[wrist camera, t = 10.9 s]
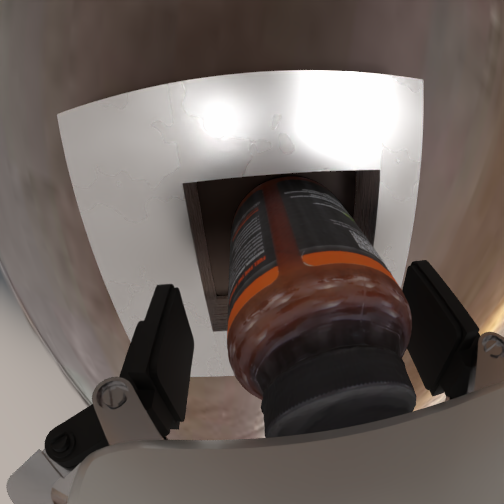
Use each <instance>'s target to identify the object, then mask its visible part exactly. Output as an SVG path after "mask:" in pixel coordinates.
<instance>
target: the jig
mask: <svg viewBox="0 0 504 504" xmlns="http://www.w3.org/2000/svg"><path fill="white" fill-rule="evenodd" d="M57 118H58V123H59V129H60V134H61V139H62V144H63V149H64V153H65V158H66V162H67V166H68V170H69V174H70V178H71V182H72V186H73V190H74V193H75V197H76V200H77V204H78V207H79V211H80V214H81V217H82V220H83V224H84V227H85V230H86V233H87V236H88V239H89V242H90V245H91V248H92V251H93V253H94V256H95V259H96V262H97V264H98V267H99V270H100V272H101V275H102V277H103V280H104V282H105V285H106V287H107V290H108V292H109V295H110V297H111V300H112V302H113V304H114V307H115V309H116V311H117V313H118V316H119V318H120V320H121V322H122V325H123V327H124V329H125V331H126V333H127V335H128V337H129V339H130V342H131V340H132V337H133V335H134V332H135V329H136V326H137V324H138V322H139V321H144V319H145V317H146V314H147V311H148V308H149V305H150V302H151V299H152V297H153V294H154V291H155V288H156V286H157V285H161V284H173V285H174V288H176V287H178V288H179V290H180V294H181V297H182V301H183V304H184V308H185V311H186V315H187V318H188V322H189V325H190V328H191V332H192V335H193V338H194V353H193V360H192V367H191V374H190V377H209V376H234V373H233V370H232V368H231V365H230V362H229V358H228V349H227V330H228V327H227V318H228V295H227V296H216V291H215V286H214V281H213V275H212V270H211V265H210V259H209V254H208V248H207V242H206V237H205V231H204V225H203V219H202V213H201V207H200V201H199V195H198V189H197V182H199V181H207V180H216V179H226V178H236V177H246V176H258V175H270V174H284V173H300V172H320V171H346V170H356V187H355V207H354V221H355V223H356V224H357V225H358V227H359V228H360V229H361V231H362V232H363V234H364V235H365V236H366V238H367V239H368V241H369V242H370V243H371V245H372V246H373V247H374V249H375V250H376V252H377V253H378V255H379V256H380V257H381V259H382V260H383V262H384V263H385V265H386V266H387V268H388V269H389V271H390V272H391V274H392V276H393V277H394V279H395V280H396V282H397V283H398V285H399V287H400V288H401V285H402V280H403V276H404V271H405V267H406V262H407V257H408V252H409V247H410V241H411V235H412V229H413V223H414V217H415V210H416V203H417V195H418V186H419V177H420V166H421V154H422V137H423V80H422V79H416V78H409V77H402V76H395V75H386V74H376V73H365V72H350V71H326V70H291V71H266V72H251V73H239V74H229V75H220V76H212V77H205V78H198V79H191V80H185V81H179V82H174V83H168V84H163V85H158V86H153V87H149V88H144V89H140V90H136V91H132V92H128V93H124V94H120V95H116V96H112V97H109V98H105V99H102V100H98V101H95V102H92V103H88V104H85V105H82V106H79V107H76V108H73V109H70V110H67V111H65V112H62V113H59V114H57Z"/></svg>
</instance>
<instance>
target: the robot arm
mask: <svg viewBox="0 0 504 504" xmlns="http://www.w3.org/2000/svg"><path fill="white" fill-rule="evenodd" d="M402 292H403V294H404V296H405V298H406V299H407V302H408V304H409V307H410V311H411V316H412V331H411V337H410V340H409V344H408V347H407V349H408V351H409V353H410V355H411V358H412V360H413V362H414V364H415V366H416V368H417V370H418V373H419V375H420V377H421V379H422V381H423V384H424V386H425V388H426V389H427V390H430V392H431V395H432V396H435V395H438V394H441V393H444V392H445V395H446V400H445V402H442V403H439V404H436V405H433V406H430V407H427V408H424V409H420V410H417V411H414V412H410V413H407V414H403V415H399V416H395V417H391V418H387V419H383V420H379V421H375V422H371V423H366V424H361V425H356V426H351V427H346V428H341V429H335V430H329V431H322V432H316V433H308V434H301V435H292V436H283V437H272V438H258V439H239V440H168V438H167V437H166V436H167V435H168V434H169V433H170V429H179V424H180V422H183V421H184V420H185V413H186V405H187V397H188V389H189V381H190V374H191V367H192V360H193V353H194V338H193V335H192V332H191V328H190V325H189V322H188V318H187V315H186V311H185V308H184V304H183V301H182V297H181V294H180V290H179V288H178V287H176V288H174V285H173V284H161V285H157V286H156V288H155V291H154V294H153V297H152V299H151V302H150V305H149V308H148V311H147V314H146V317H145V319H144V321H139V322H138V324H137V326H136V329H135V332H134V335H133V337H132V340H131V343H130V346H129V349H128V352H127V355H126V358H125V361H124V364H123V367H122V371H121V374H120V377H111V378H108V379H105V380H104V381H102V382H100V383H99V384H98V385H97V387H96V388H95V390H94V392H93V395H92V402H93V404H92V405H90V406H89V407H87V408H86V409H84V410H83V411H81V412H79V413H78V414H76V415H75V416H73V417H71V418H70V419H68V420H67V421H65V422H64V423H62V424H60V425H58V426H57V427H55V428H54V429H53V430H51V431H50V432H49V434H48V435H47V437H46V440H45V449H44V450H43V451H41V450H40V449H39V450H38V451H37V452H36V453H35V454H33V455H32V456H31V457H30V458H29V459H28V460H27V461H26V462H25V463H24V464H23V465H22V466H21V467H20V468H19V469H17V471H15V472H14V473H13V475H11V476H10V478H9V479H8V482H7V492H8V495H9V497H10V499H11V500H12V502H13V503H14V504H504V337H502V336H501V335H499V334H497V333H494V332H486V333H484V334H482V335H481V336H480V335H479V333H478V331H479V328H478V326H477V325H476V324H475V322H474V321H473V319H472V318H471V316H470V315H469V314H468V312H467V311H466V310H465V308H464V307H463V305H462V304H461V303H460V301H459V300H458V299H457V297H456V296H455V295H454V293H453V292H452V291H451V290H450V288H449V287H448V286H447V284H446V283H445V282H444V281H443V279H442V278H441V277H440V276H439V274H438V273H437V272H436V271H435V269H434V268H433V267H432V266H431V265H430V263H429V262H428V261H427V260H422V261H414V262H412V264H411V266H409V267H408V269H407V273H406V277H405V281H404V286H403V290H402Z"/></svg>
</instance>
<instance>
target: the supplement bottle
mask: <svg viewBox="0 0 504 504" xmlns="http://www.w3.org/2000/svg"><path fill="white" fill-rule="evenodd" d="M230 240H231V242H230V265H229V292H228V318H227V327H228V330H227V349H228V358H229V362H230V365H231V368H232V370H233V373H234V375H235V377H236V378H237V380H238V381H239V382H240V384H241V385H242V386H243V387H244V388H245V389H246V390H247V391H248V392H250V393H251V394H252V395H254V396H256V397H258V398H259V399H261V400H262V404H261V409H262V412H263V414H264V424H265V437H266V438H272V437H283V436H292V435H301V434H308V433H316V432H322V431H329V430H335V429H341V428H346V427H351V426H356V425H361V424H366V423H371V422H375V421H379V420H383V419H387V418H391V417H395V416H399V415H403V414H407V413H410V412H412V411H413V410H414V407H415V405H416V394H415V391H414V388H413V386H412V383H411V381H410V379H409V377H408V374H407V372H406V368H405V364H404V362H403V360H402V357H403V355H404V352H405V351H406V349H407V347H408V344H409V340H410V337H411V331H412V316H411V311H410V307H409V304H408V302H407V299H406V298H405V296H404V294H403V292H402V290H401V288H400V287H399V285H398V283H397V282H396V280H395V279H394V277H393V276H392V274H391V272H390V271H389V269H388V268H387V266H386V265H385V263H384V262H383V260H382V259H381V257H380V256H379V255H378V253H377V252H376V250H375V249H374V247H373V246H372V245H371V243H370V242H369V241H368V239H367V238H366V236H365V235H364V234H363V232H362V231H361V229H360V228H359V227H358V225H357V224H356V223H355V221H354V220H353V218H352V217H351V216H350V215H349V214H348V212H347V211H346V209H345V208H344V207H343V206H342V204H341V203H340V201H339V200H338V199H337V198H336V197H335V196H334V195H333V194H332V193H331V192H330V191H329V190H328V189H327V188H326V187H324V186H323V185H321V184H319V183H318V182H315V181H313V180H310V179H307V178H302V177H297V176H287V177H280V178H276V179H272V180H269V181H267V182H265V183H263V184H261V185H259V186H257V187H256V188H254V189H253V190H252V191H251V192H250V193H249V194H248V195H246V197H245V198H244V199H243V200H242V202H241V203H240V205H239V207H238V208H237V210H236V213H235V215H234V218H233V222H232V229H231V239H230Z"/></svg>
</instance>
